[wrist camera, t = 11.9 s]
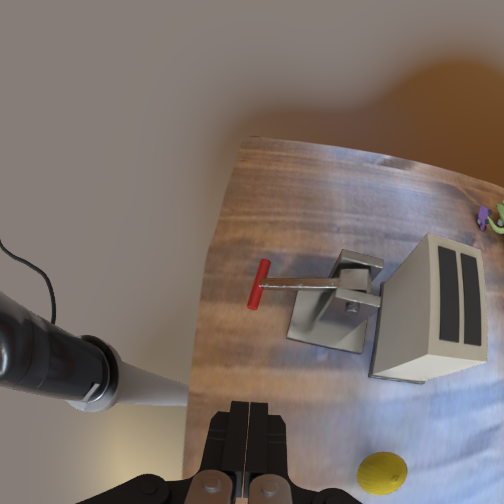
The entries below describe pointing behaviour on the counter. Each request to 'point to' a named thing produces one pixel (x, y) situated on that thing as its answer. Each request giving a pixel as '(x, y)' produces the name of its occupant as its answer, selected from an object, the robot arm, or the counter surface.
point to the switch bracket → (336, 309)
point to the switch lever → (308, 283)
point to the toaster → (432, 314)
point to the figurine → (485, 219)
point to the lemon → (382, 473)
